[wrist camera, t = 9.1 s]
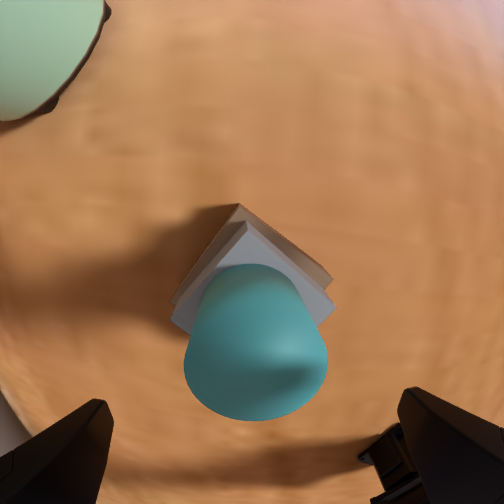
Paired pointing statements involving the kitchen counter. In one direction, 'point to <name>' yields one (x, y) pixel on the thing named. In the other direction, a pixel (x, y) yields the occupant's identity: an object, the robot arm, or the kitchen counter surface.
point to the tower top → (246, 252)
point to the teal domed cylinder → (254, 346)
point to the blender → (44, 50)
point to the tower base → (273, 236)
